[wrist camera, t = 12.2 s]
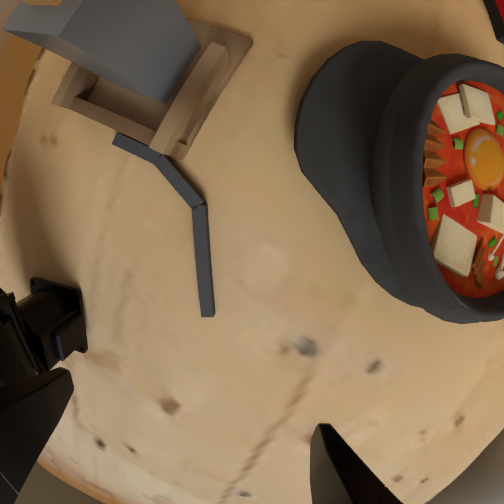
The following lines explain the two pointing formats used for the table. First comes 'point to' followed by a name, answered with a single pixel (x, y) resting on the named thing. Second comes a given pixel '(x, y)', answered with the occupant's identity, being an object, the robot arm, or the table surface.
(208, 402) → the table surface
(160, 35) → the block
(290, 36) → the table surface
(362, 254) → the casserole
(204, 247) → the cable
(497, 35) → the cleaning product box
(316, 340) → the table surface
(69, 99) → the tray
